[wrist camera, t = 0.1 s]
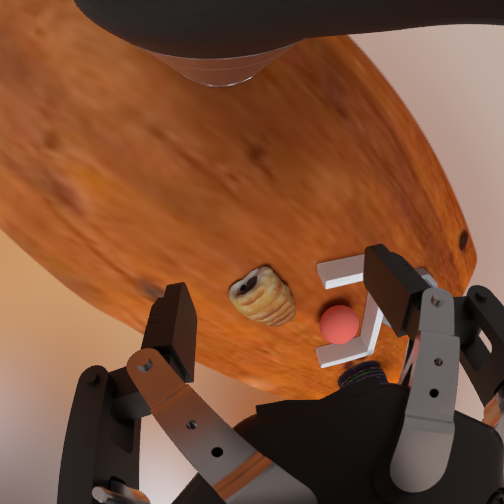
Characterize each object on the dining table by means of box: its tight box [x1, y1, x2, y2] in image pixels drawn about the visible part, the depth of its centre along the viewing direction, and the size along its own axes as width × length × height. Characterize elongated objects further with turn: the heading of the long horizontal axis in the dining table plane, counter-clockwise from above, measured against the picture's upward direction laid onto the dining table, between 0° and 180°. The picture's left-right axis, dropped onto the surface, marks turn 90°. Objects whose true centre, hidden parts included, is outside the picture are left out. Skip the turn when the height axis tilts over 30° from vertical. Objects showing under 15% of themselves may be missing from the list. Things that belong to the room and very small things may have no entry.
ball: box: [320, 305, 359, 344], centre depth 35 cm, size 6×6×6 cm
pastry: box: [229, 266, 296, 327], centre depth 33 cm, size 9×7×4 cm
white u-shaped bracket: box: [316, 254, 383, 368], centre depth 36 cm, size 18×9×4 cm, turn 9°
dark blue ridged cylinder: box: [338, 361, 388, 389], centre depth 43 cm, size 10×10×15 cm
